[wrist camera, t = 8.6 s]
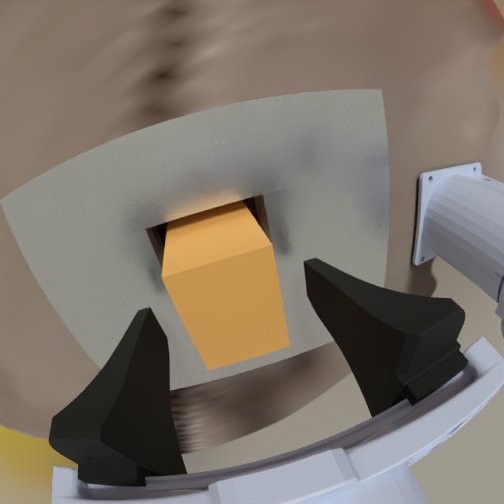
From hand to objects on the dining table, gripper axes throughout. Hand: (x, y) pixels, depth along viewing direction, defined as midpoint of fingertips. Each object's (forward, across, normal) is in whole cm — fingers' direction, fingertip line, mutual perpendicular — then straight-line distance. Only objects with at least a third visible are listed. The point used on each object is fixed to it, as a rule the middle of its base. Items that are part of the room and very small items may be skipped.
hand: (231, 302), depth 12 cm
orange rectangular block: (+4, 0, 0) cm, 5 cm away
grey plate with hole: (+4, 0, 0) cm, 5 cm away
